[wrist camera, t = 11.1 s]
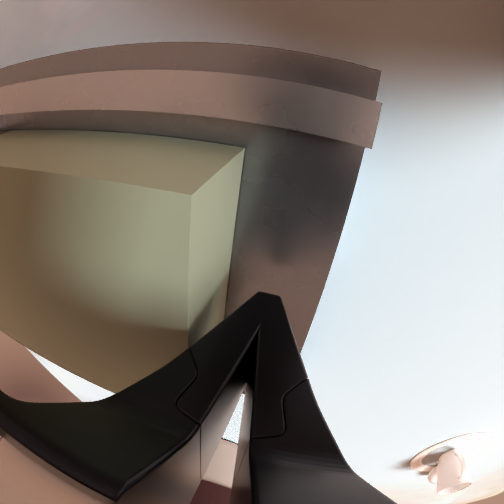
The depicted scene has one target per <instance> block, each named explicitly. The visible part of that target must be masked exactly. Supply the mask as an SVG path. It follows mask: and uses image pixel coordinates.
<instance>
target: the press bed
mask: <svg viewBox="0 0 504 504" xmlns="http://www.w3.org/2000/svg"><path fill="white" fill-rule="evenodd" d="M380 74H381V71H379V70H376V69H372V68H369V67H365V66H361V65H357V64H354V63H350V62H346V61H341V60H337V59H333V58H328V57H323V56H318V55H313V54H308V53H302V52H297V51H290V50H284V49H277V48H269V47H261V46H252V45H241V44H228V43H208V42H157V43H138V44H125V45H115V46H106V47H98V48H91V49H84V50H78V51H72V52H66V53H61V54H56V55H51V56H47V57H42V58H38V59H34V60H30V61H26V62H22V63H19V64H15V65H12V66H8V67H5V68H2V69H0V131H8V130H80V131H102V132H118V133H131V134H143V135H153V136H163V137H172V138H181V139H189V140H196V141H204V142H211V143H217V144H224V145H230V146H237V147H242V148H245V152H244V159H243V167H242V174H241V182H240V189H239V197H238V205H237V213H236V221H235V229H234V237H233V245H232V253H231V262H230V270H229V279H228V287H227V296H226V305H225V314H224V319H225V318H226V317H228V316H229V315H230V314H231V313H233V312H234V311H235V310H236V309H237V308H239V307H240V306H241V305H242V304H244V303H245V302H246V301H247V300H248V299H250V298H251V297H252V296H253V295H255V294H256V293H257V292H259V291H261V292H265V293H270V294H274V295H278V296H280V297H281V299H282V302H283V305H284V308H285V311H286V314H287V317H288V320H289V323H290V326H291V328H292V331H293V334H294V337H295V340H296V343H297V346H298V349H299V352H301V350H302V347H303V345H304V342H305V339H306V337H307V334H308V331H309V329H310V326H311V323H312V320H313V318H314V315H315V312H316V309H317V306H318V303H319V301H320V298H321V295H322V292H323V289H324V286H325V283H326V280H327V277H328V274H329V271H330V268H331V265H332V262H333V259H334V255H335V252H336V249H337V246H338V243H339V239H340V236H341V233H342V230H343V226H344V223H345V219H346V216H347V212H348V209H349V205H350V202H351V198H352V195H353V191H354V187H355V184H356V180H357V176H358V172H359V168H360V165H361V161H362V157H363V153H364V148H365V147H367V148H370V149H372V145H373V141H374V137H375V133H376V128H377V124H378V120H379V115H380V111H381V106H382V103H380V102H376V101H375V100H376V95H377V90H378V85H379V79H380ZM246 384H247V383H246ZM245 391H246V385H245V387H244V389H243V392H242V393H243V394H245Z"/></svg>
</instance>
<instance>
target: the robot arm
mask: <svg viewBox="0 0 504 504" xmlns="http://www.w3.org/2000/svg"><path fill="white" fill-rule="evenodd" d="M307 378H308V376H307V373H306V370H305V367H304V364H303V361H302V358H301V355H300V352H299V349H298V346H297V343H296V340H295V337H294V334H293V331H292V328H291V326H290V323H289V320H288V317H287V314H286V311H285V308H284V305H283V302H282V299H281V297H280V296H278V295H274V294H270V293H265V292H261V291H259V292H257V293H256V294H255V295H253V296H252V297H251V298H250V299H248V300H247V301H246V302H245V303H244V304H242V305H241V306H240V307H239V308H237V309H236V310H235V311H234V312H233V313H231V314H230V315H229V316H228V317H226V318H225V319H224V320H223V321H221V322H220V323H219V324H218V325H216V326H215V327H214V328H213V329H212V330H210V331H209V332H208V333H207V334H205V335H204V336H203V337H201V338H200V339H199V340H198V341H196V342H195V343H194V344H193V345H191V346H190V347H189V349H186V350H185V351H184V352H182V353H181V354H180V355H179V356H177V357H176V358H174V359H173V360H172V361H170V362H169V363H167V364H166V365H165V366H163V367H161V368H160V369H158V370H156V371H155V372H153V373H152V374H150V375H148V376H146V377H145V378H143V379H141V380H139V381H138V382H136V383H134V384H132V385H131V386H129V387H127V388H125V389H123V390H122V391H120V392H118V393H116V394H114V395H112V396H110V397H108V398H105V399H102V400H99V401H94V402H74V403H32V402H24V401H19V400H16V399H14V398H11V397H9V396H8V395H6V394H5V393H3V392H2V391H1V390H0V436H1V439H0V504H190V502H191V500H192V498H193V496H194V494H195V492H196V490H197V488H198V486H199V484H200V481H201V480H202V478H203V476H204V474H205V472H206V470H207V468H208V466H209V463H210V461H211V459H212V457H213V455H214V453H215V451H216V449H217V447H218V444H219V442H220V440H221V438H222V436H223V434H224V432H225V429H226V427H227V425H228V423H229V421H230V418H231V416H232V414H233V412H234V410H235V407H236V405H237V403H238V401H239V398H240V396H241V394H242V392H243V389H244V387H245V385H246V391H245V399H244V406H243V413H242V420H241V427H240V434H239V441H238V448H237V455H236V462H235V469H234V475H233V482H232V490H231V495H230V502H229V504H397V503H395V502H394V501H392V500H391V499H390V498H388V497H387V496H385V495H384V494H383V493H381V492H380V491H378V490H377V489H376V488H374V487H373V486H371V485H370V484H369V483H367V482H366V481H365V480H363V479H362V478H361V477H359V476H358V475H357V474H356V473H355V472H354V471H353V470H352V469H351V468H350V466H349V465H348V464H347V462H346V461H345V459H344V457H343V455H342V453H341V451H340V449H339V447H338V445H337V443H336V441H335V439H334V437H333V435H332V433H331V431H330V429H329V427H328V425H327V423H326V421H325V419H324V417H323V415H322V413H321V411H320V408H319V406H318V404H317V401H316V399H315V396H314V393H313V391H312V388H311V385H310V382H309V379H307ZM246 383H247V384H246Z"/></svg>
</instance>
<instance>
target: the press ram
mask: <svg viewBox="0 0 504 504" xmlns="http://www.w3.org/2000/svg"><path fill="white" fill-rule="evenodd" d="M244 152H245V148H242V147H237V146H230V145H224V144H217V143H211V142H204V141H196V140H189V139H181V138H172V137H163V136H153V135H143V134H131V133H118V132H102V131H80V130H8V131H0V331H2V332H4V333H5V334H7V335H8V336H10V337H11V338H13V339H14V340H16V341H17V342H19V343H20V344H22V345H24V346H25V347H27V348H28V349H30V350H32V351H33V352H35V353H37V354H38V355H40V356H42V357H44V358H45V359H47V360H49V361H51V362H53V363H54V364H56V365H58V366H60V367H62V368H64V369H65V370H67V371H69V372H71V373H73V374H75V375H77V376H79V377H81V378H83V379H85V380H87V381H89V382H91V383H93V384H96V385H98V386H100V387H102V388H104V389H106V390H109V391H111V392H113V393H118V392H120V391H122V390H123V389H125V388H127V387H129V386H131V385H132V384H134V383H136V382H138V381H139V380H141V379H143V378H145V377H146V376H148V375H150V374H152V373H153V372H155V371H156V370H158V369H160V368H161V367H163V366H165V365H166V364H167V363H169V362H170V361H172V360H173V359H174V358H176V357H177V356H179V355H180V354H181V353H182V352H184V351H185V350H186V349H189V347H190V346H191V345H193V344H194V343H195V342H196V341H198V340H199V339H200V338H201V337H203V336H204V335H205V334H207V333H208V332H209V331H210V330H212V329H213V328H214V327H215V326H216V325H218V324H219V323H220V322H221V321H223V320H224V314H225V305H226V296H227V287H228V279H229V270H230V262H231V253H232V245H233V237H234V229H235V221H236V213H237V205H238V197H239V189H240V182H241V174H242V167H243V159H244Z"/></svg>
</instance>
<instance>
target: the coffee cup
mask: <svg viewBox="0 0 504 504" xmlns="http://www.w3.org/2000/svg"><path fill="white" fill-rule="evenodd" d="M237 448H238V445H237V444H235V443H232V442H229V441H226V440H223V439H221V440H220V442H219V444H218V447H217V449H216V451H215V453H214V455H213V457H212V459H211V461H210V463H209V466H208V468H207V470H206V472H205V474H204V476H203V478H202V480H201V481H200V484H199V486H198V488H197V490H196V492H195V494H194V496H193V498H192V500H191V502H190V504H229V502H230V495H231V490H232V482H233V475H234V469H235V462H236V455H237Z"/></svg>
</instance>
